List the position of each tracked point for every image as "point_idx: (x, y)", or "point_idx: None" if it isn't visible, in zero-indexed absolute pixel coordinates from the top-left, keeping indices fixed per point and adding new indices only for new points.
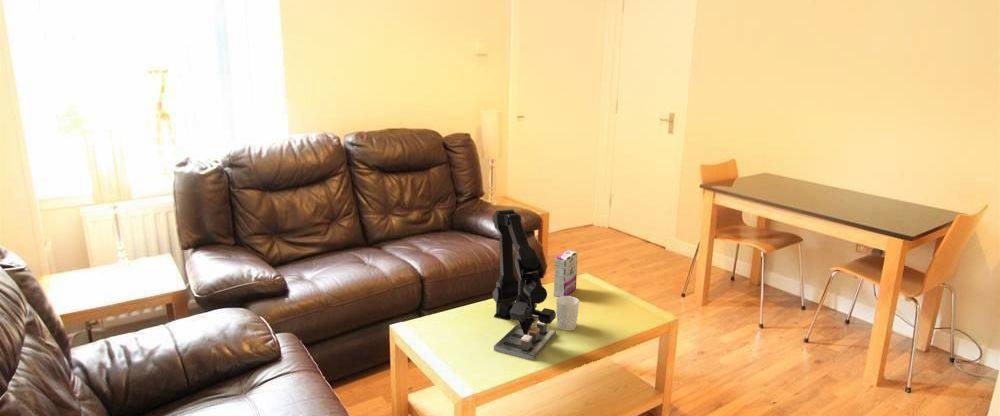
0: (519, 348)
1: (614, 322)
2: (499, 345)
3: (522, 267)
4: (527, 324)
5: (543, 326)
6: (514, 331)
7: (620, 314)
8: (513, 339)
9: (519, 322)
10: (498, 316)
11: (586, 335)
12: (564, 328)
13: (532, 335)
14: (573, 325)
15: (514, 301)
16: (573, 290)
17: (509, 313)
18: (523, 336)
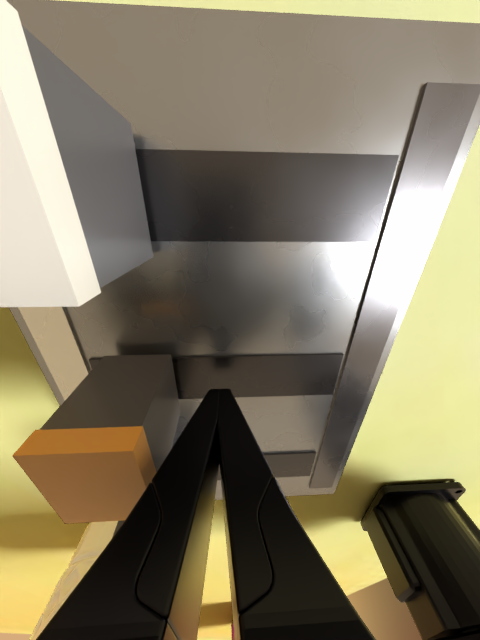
0: (166, 147)
1: (15, 584)
2: (436, 95)
3: None
4: (130, 584)
5: (114, 532)
6: (334, 415)
7: (44, 605)
8: (307, 317)
9: (330, 580)
10: (443, 490)
11: (7, 515)
12: (111, 522)
13: (110, 396)
14: (74, 553)
15: (422, 628)
16: (233, 624)
17: (402, 526)
18: (24, 186)
